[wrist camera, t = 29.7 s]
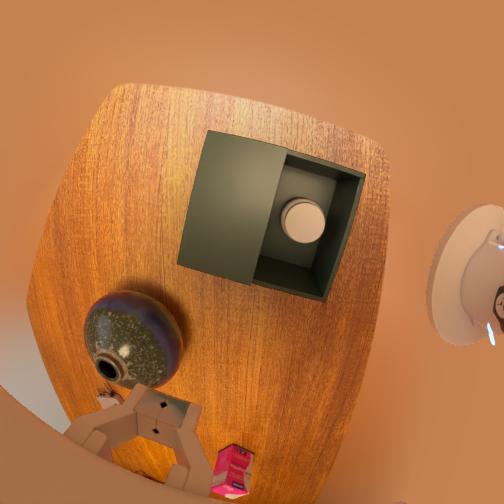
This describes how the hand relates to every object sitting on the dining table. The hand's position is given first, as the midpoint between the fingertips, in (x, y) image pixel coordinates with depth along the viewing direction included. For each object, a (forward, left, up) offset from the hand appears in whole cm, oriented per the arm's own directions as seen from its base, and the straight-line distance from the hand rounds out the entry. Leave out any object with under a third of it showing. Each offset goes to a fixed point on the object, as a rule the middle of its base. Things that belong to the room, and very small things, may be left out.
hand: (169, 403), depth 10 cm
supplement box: (+4, +44, -27) cm, 52 cm away
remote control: (+30, +34, -27) cm, 53 cm away
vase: (+16, +11, -27) cm, 34 cm away
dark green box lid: (0, -7, -16) cm, 18 cm away
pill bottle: (-7, -5, -27) cm, 28 cm away
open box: (-4, -6, -27) cm, 28 cm away
